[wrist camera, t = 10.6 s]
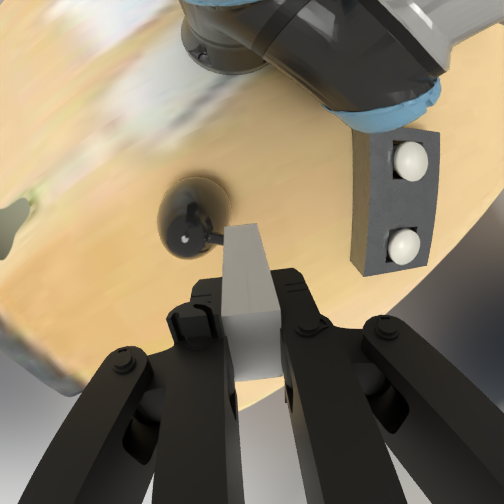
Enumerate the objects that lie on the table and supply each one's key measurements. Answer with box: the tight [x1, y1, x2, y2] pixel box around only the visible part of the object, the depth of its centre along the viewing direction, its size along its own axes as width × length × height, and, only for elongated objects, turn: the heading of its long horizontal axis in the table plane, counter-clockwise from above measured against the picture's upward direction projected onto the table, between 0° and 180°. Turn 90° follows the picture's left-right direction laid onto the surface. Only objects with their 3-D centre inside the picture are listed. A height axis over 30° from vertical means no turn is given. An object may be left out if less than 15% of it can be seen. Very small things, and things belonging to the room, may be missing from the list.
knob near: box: [393, 141, 428, 181], centre depth 36 cm, size 6×6×7 cm
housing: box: [350, 128, 440, 277], centre depth 40 cm, size 24×14×6 cm, turn 5°
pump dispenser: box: [157, 177, 232, 260], centre depth 35 cm, size 10×10×15 cm
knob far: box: [387, 228, 420, 265], centre depth 42 cm, size 6×6×7 cm
